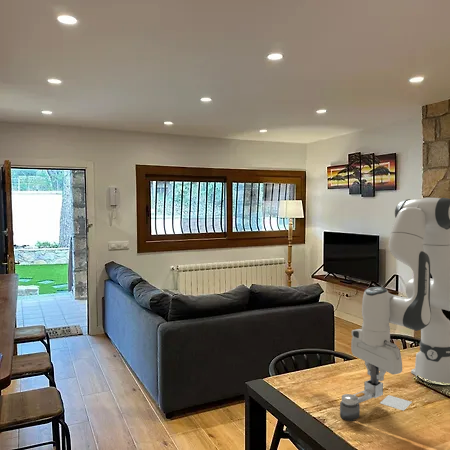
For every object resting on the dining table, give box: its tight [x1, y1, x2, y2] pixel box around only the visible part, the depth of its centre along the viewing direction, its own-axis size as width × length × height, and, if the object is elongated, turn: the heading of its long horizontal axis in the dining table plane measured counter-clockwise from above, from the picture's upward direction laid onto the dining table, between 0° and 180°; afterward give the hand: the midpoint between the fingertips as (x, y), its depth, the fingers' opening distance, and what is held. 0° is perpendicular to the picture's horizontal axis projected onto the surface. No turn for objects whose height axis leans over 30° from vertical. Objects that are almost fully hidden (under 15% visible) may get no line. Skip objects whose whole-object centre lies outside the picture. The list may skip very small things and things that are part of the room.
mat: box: [379, 394, 413, 412], centre depth 140 cm, size 8×8×1 cm
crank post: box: [339, 400, 361, 422], centre depth 132 cm, size 6×6×4 cm
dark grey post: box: [369, 364, 380, 385], centre depth 138 cm, size 3×3×10 cm
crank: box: [341, 379, 384, 407], centre depth 135 cm, size 17×5×4 cm, turn 123°
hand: (375, 377), depth 138 cm, fingers open, 3 cm apart
